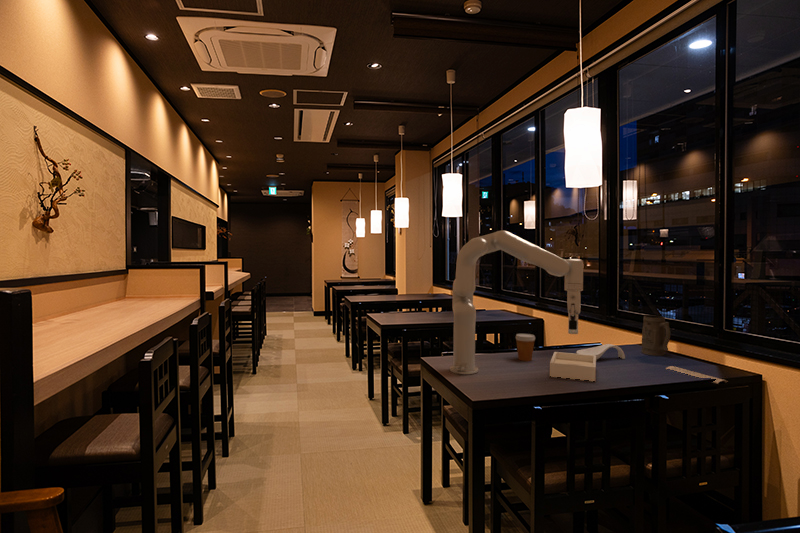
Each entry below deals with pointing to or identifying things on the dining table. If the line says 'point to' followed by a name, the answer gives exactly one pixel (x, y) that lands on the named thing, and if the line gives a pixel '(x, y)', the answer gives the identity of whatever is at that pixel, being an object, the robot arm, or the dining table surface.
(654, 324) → the beer stein
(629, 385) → the dining table surface
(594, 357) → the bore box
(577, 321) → the small plastic bottle
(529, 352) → the disposable coffee cup
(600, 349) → the spoon rest
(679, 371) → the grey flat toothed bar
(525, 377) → the dining table surface
